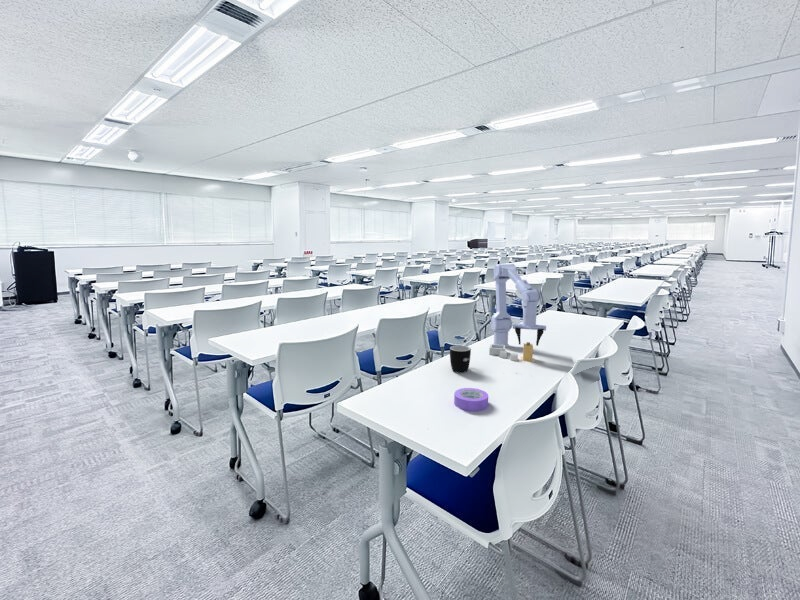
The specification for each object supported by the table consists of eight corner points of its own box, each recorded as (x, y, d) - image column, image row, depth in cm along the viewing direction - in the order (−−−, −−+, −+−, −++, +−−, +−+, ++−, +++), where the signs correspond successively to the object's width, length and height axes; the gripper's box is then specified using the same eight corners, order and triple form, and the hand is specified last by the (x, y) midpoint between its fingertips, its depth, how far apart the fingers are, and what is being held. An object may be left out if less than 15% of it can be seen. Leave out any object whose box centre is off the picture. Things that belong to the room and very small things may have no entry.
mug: (463, 375, 160) (464, 352, 158) (445, 370, 166) (445, 348, 164) (477, 368, 169) (477, 346, 167) (459, 363, 175) (460, 342, 173)
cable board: (489, 351, 193) (489, 343, 192) (535, 355, 186) (535, 346, 185) (487, 361, 177) (487, 352, 177) (537, 365, 171) (537, 356, 170)
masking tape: (464, 394, 141) (464, 384, 140) (493, 403, 134) (494, 392, 133) (447, 405, 132) (447, 395, 131) (478, 415, 125) (478, 404, 124)
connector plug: (522, 357, 179) (523, 341, 178) (531, 358, 178) (532, 341, 177) (523, 360, 175) (523, 343, 174) (532, 360, 174) (533, 344, 173)
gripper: (513, 316, 172) (511, 345, 174) (547, 318, 168) (545, 348, 170) (513, 313, 178) (512, 341, 181) (546, 315, 174) (544, 343, 176)
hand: (528, 344), depth 176 cm, fingers open, 7 cm apart
